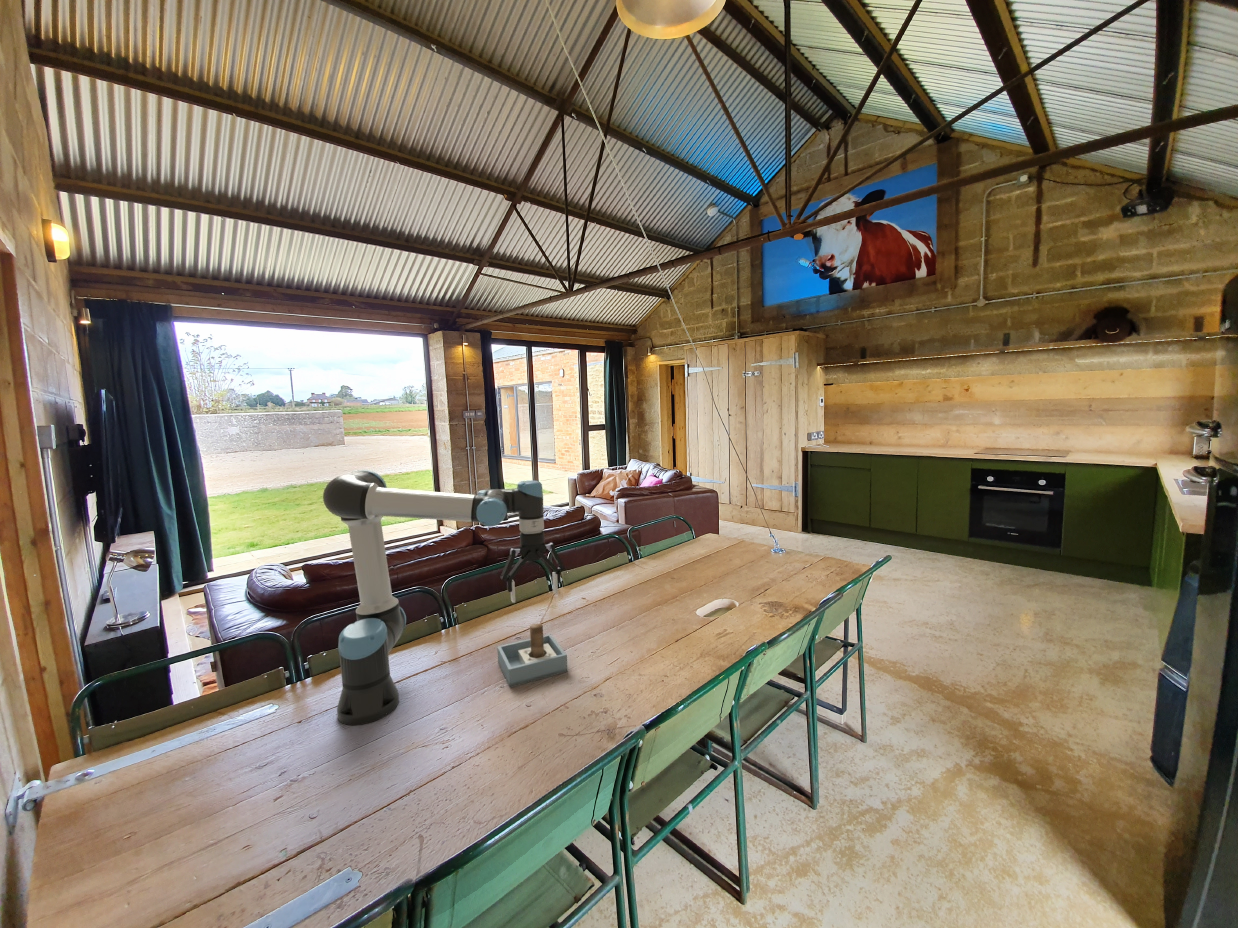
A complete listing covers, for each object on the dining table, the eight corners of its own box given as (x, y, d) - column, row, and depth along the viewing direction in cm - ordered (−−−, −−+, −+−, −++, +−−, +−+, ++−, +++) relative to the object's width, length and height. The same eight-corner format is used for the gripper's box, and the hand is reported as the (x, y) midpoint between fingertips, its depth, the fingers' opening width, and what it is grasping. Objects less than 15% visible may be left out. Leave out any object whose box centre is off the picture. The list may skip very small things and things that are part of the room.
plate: (526, 673, 146) (526, 664, 146) (518, 659, 155) (518, 650, 155) (558, 665, 151) (557, 656, 150) (548, 651, 160) (547, 643, 159)
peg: (530, 661, 154) (528, 625, 153) (542, 658, 156) (540, 622, 154) (533, 666, 150) (531, 630, 149) (545, 663, 152) (544, 627, 151)
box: (509, 687, 141) (508, 669, 141) (498, 662, 156) (497, 646, 155) (567, 671, 149) (566, 654, 148) (551, 649, 163) (550, 633, 163)
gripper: (493, 539, 140) (497, 609, 142) (574, 528, 151) (576, 593, 153) (488, 533, 146) (492, 600, 149) (566, 523, 157) (568, 586, 159)
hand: (534, 597), depth 151 cm, fingers open, 13 cm apart
